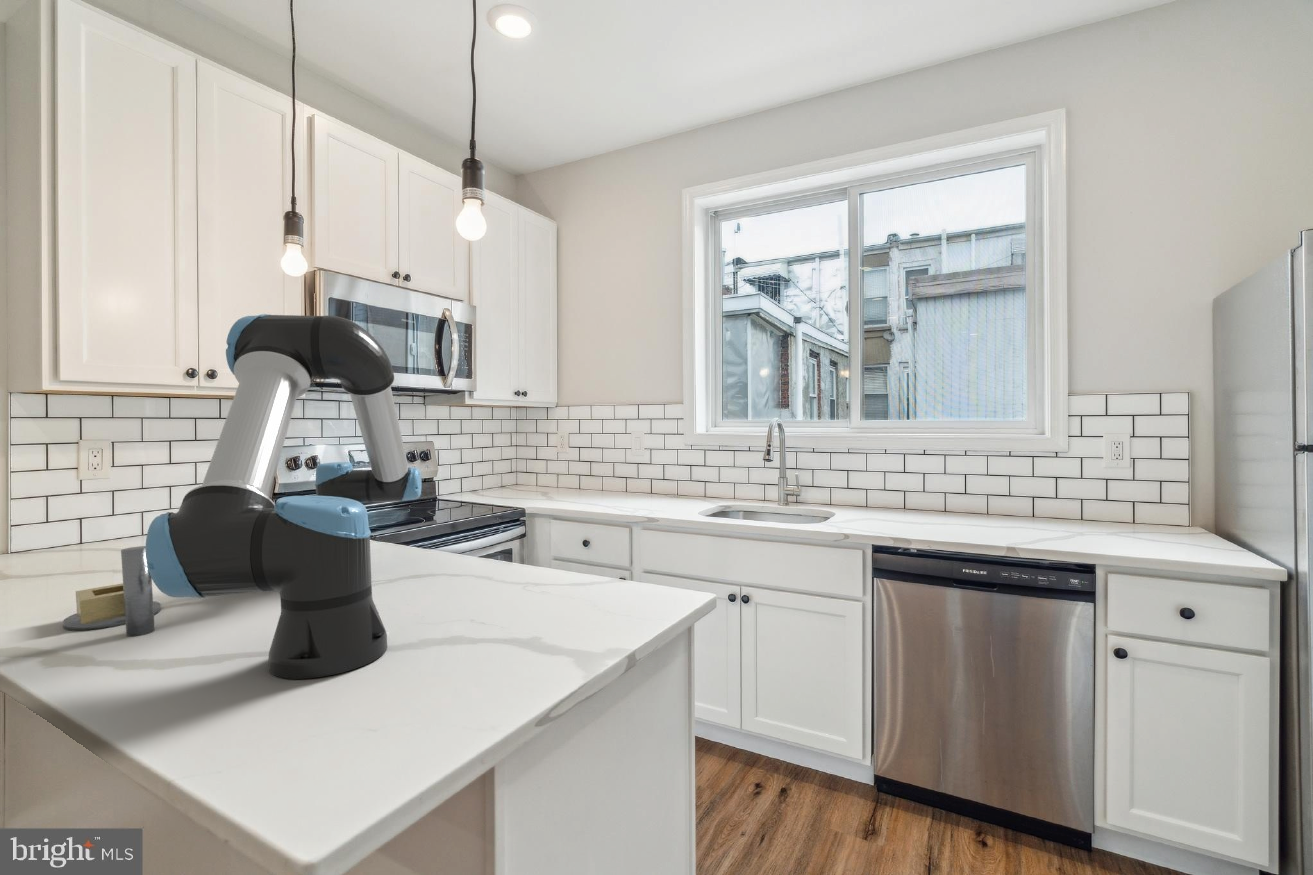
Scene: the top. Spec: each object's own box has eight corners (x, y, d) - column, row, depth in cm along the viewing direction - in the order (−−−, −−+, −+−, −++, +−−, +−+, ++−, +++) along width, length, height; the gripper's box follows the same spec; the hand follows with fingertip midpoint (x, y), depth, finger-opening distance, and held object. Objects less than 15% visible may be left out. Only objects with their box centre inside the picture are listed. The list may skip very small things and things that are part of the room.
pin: (156, 631, 101) (151, 547, 101) (127, 638, 99) (122, 551, 98) (152, 627, 104) (147, 545, 103) (124, 633, 101) (119, 548, 101)
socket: (166, 615, 110) (165, 588, 110) (66, 636, 100) (64, 606, 100) (154, 601, 119) (152, 576, 118) (61, 619, 109) (59, 591, 109)
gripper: (347, 561, 127) (251, 591, 107) (257, 554, 135) (151, 581, 114) (345, 525, 126) (248, 548, 106) (255, 520, 134) (149, 542, 114)
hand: (198, 565), depth 110 cm, fingers open, 13 cm apart
